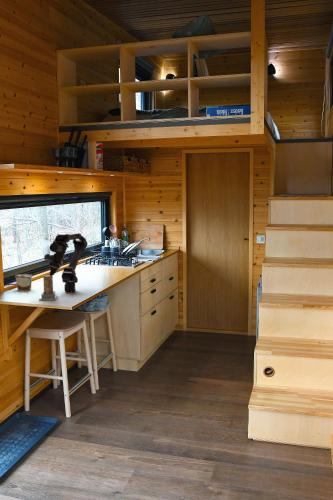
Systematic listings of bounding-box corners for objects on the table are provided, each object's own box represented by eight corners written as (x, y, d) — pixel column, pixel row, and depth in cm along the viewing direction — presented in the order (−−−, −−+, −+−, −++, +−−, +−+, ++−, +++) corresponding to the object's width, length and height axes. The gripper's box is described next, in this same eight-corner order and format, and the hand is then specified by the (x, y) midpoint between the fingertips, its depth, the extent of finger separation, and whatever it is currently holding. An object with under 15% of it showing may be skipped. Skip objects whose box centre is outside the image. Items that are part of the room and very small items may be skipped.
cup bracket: (57, 296, 311) (57, 290, 310) (56, 300, 301) (55, 294, 300) (41, 296, 310) (41, 291, 309) (39, 300, 300) (39, 294, 299)
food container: (36, 289, 332) (36, 274, 330) (31, 291, 326) (30, 276, 325) (21, 287, 336) (20, 273, 334) (15, 289, 330) (15, 275, 328)
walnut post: (49, 295, 308) (48, 275, 306) (53, 296, 305) (52, 276, 303) (44, 296, 305) (43, 276, 303) (47, 297, 302) (47, 276, 301)
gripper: (50, 247, 320) (41, 269, 320) (45, 249, 301) (36, 273, 302) (66, 253, 321) (57, 275, 321) (63, 255, 302) (53, 279, 303)
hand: (51, 275), depth 312 cm, fingers open, 9 cm apart
